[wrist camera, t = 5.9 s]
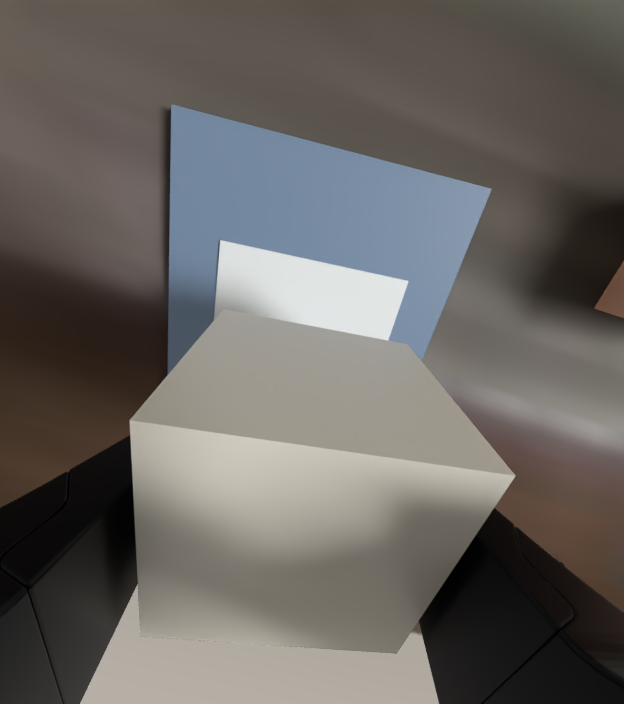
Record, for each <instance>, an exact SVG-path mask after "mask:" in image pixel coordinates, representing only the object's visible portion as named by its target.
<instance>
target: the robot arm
mask: <svg viewBox="0 0 624 704" xmlns="http://www.w3.org/2000/svg"><path fill="white" fill-rule="evenodd" d="M137 584H138V579H137V559H136V539H135V519H134V499H133V479H132V459H131V439H130V436H128V437H126V438H124V439H123V440H121V441H119V442H117V443H116V444H114V445H112V446H110V447H109V448H107V449H105V450H103V451H102V452H100V453H98V454H96V455H95V456H93V457H91V458H89V459H88V460H86V461H84V462H82V463H81V464H79V465H77V466H75V467H74V468H72V469H70V471H69V473H68V472H65V473H63V474H61V475H59V476H58V477H56V478H54V479H53V480H51V481H49V482H47V483H45V484H44V485H42V486H40V487H38V488H36V489H35V490H33V491H31V492H29V493H27V494H25V495H24V496H22V497H20V498H18V499H16V500H14V501H12V502H11V503H9V504H7V505H5V506H3V507H1V508H0V704H80V702H81V700H82V698H83V696H84V694H85V692H86V690H87V688H88V685H89V683H90V681H91V679H92V677H93V675H94V673H95V671H96V669H97V667H98V665H99V663H100V660H101V658H102V656H103V654H104V652H105V650H106V648H107V646H108V644H109V642H110V640H111V638H112V636H113V634H114V632H115V629H116V627H117V625H118V623H119V621H120V619H121V617H122V615H123V613H124V611H125V608H126V607H127V604H128V602H129V600H130V598H131V596H132V594H133V592H134V590H135V588H136V586H137ZM419 624H420V628H421V632H422V636H423V640H424V644H425V647H426V652H427V656H428V660H429V664H430V668H431V672H432V676H433V680H434V684H435V688H436V692H437V696H438V700H439V704H624V613H623V612H622V611H621V610H620V609H618V608H617V607H616V606H614V605H613V604H612V603H611V602H609V601H608V600H607V599H605V598H604V597H603V596H602V595H600V594H599V593H598V592H596V591H595V590H594V589H592V588H591V587H590V586H589V585H587V584H586V583H585V582H583V581H582V580H581V579H580V578H578V577H577V576H576V575H575V574H573V573H572V572H571V571H570V570H568V569H567V568H566V567H565V566H564V564H563V563H561V562H558V561H557V560H556V559H554V558H553V557H552V556H551V555H550V554H548V553H547V552H546V551H545V550H544V549H542V548H541V547H540V546H539V545H538V544H536V543H535V542H534V541H533V540H532V539H530V538H529V537H528V536H527V535H526V534H525V533H523V532H522V531H521V530H520V529H519V528H517V527H514V524H513V523H512V522H510V521H509V520H508V519H507V518H506V517H505V516H503V515H502V514H501V513H500V512H499V511H497V510H496V509H495V508H494V509H493V510H492V512H491V513H490V515H489V516H488V518H487V519H486V521H485V522H484V524H483V525H482V527H481V528H480V530H479V531H478V533H477V534H476V536H475V537H474V539H473V540H472V542H471V543H470V545H469V546H468V548H467V549H466V551H465V552H464V554H463V555H462V557H461V558H460V560H459V561H458V563H457V564H456V566H455V567H454V569H453V570H452V572H451V573H450V575H449V576H448V578H447V579H446V581H445V582H444V584H443V585H442V587H441V588H440V590H439V591H438V593H437V594H436V595H435V597H434V598H433V600H432V601H431V603H430V604H429V606H428V607H427V609H426V610H425V612H424V613H423V615H422V616H421V618H420V619H419Z"/></svg>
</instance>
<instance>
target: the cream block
mask: <svg viewBox="0 0 624 704" xmlns="http://www.w3.org/2000/svg"><path fill="white" fill-rule="evenodd" d="M130 439H131V459H132V479H133V499H134V519H135V539H136V559H137V579H138V599H139V618H140V636H141V637H152V638H167V639H182V640H198V641H213V642H228V643H243V644H259V645H274V646H289V647H304V648H320V649H334V650H351V651H365V652H366V651H367V652H380V653H395V654H396V653H397V652H398V651H399V649H400V648H401V646H402V645H403V643H404V642H405V640H406V638H407V637H408V636H409V634H410V633H411V631H412V630H413V628H414V627H415V625H416V624H417V622H418V621H419V619H420V618H421V616H422V615H423V613H424V612H425V610H426V609H427V607H428V606H429V604H430V603H431V601H432V600H433V598H434V597H435V595H436V594H437V593H438V591H439V590H440V588H441V587H442V585H443V584H444V582H445V581H446V579H447V578H448V576H449V575H450V573H451V572H452V570H453V569H454V567H455V566H456V564H457V563H458V561H459V560H460V558H461V557H462V555H463V554H464V552H465V551H466V549H467V548H468V546H469V545H470V543H471V542H472V540H473V539H474V537H475V536H476V534H477V533H478V531H479V530H480V528H481V527H482V525H483V524H484V522H485V521H486V519H487V518H488V516H489V515H490V513H491V512H492V510H493V509H494V507H495V506H496V504H497V503H498V501H499V500H500V498H501V497H502V495H503V494H504V492H505V491H506V489H507V488H508V486H509V485H510V483H511V482H512V480H513V479H514V477H515V475H514V473H513V472H512V471H511V470H510V469H509V467H508V466H507V465H506V464H505V462H504V461H503V460H502V459H501V458H500V456H499V455H498V454H497V453H496V452H495V450H494V449H493V448H492V447H491V445H490V444H489V443H488V442H487V441H486V439H485V438H484V437H483V436H482V434H481V433H480V432H479V431H478V430H477V428H476V427H475V426H474V425H473V423H472V422H471V421H470V420H469V419H468V417H467V416H466V415H465V414H464V412H463V411H462V410H461V409H460V408H459V406H458V405H457V404H456V403H455V401H454V400H453V399H452V398H451V397H450V395H449V394H448V393H447V392H446V391H445V389H444V388H443V387H442V386H441V384H440V383H439V382H438V381H437V380H436V378H435V377H434V376H433V375H432V373H431V372H430V371H429V370H428V369H427V367H426V366H425V365H424V364H423V362H422V361H421V360H420V359H419V358H418V356H417V355H416V354H415V353H414V351H413V350H412V349H411V348H410V347H409V345H408V344H404V343H399V342H393V341H388V340H383V339H378V338H372V337H367V336H362V335H357V334H351V333H346V332H341V331H336V330H330V329H325V328H320V327H315V326H310V325H304V324H299V323H294V322H289V321H283V320H278V319H273V318H268V317H262V316H257V315H252V314H247V313H242V312H236V311H231V310H226V309H223V310H222V312H221V313H220V314H219V315H218V316H217V318H216V319H215V320H214V321H213V322H212V323H211V325H210V326H209V327H208V328H207V329H206V331H205V332H204V333H203V334H202V335H201V336H200V338H199V339H198V340H197V341H196V342H195V344H194V345H193V346H192V347H191V348H190V349H189V351H188V352H187V353H186V354H185V355H184V357H183V358H182V359H181V360H180V361H179V362H178V364H177V365H176V366H175V367H174V368H173V370H172V371H171V372H170V373H169V374H168V375H167V377H166V378H165V379H164V380H163V381H162V383H161V384H160V385H159V386H158V387H157V388H156V390H155V391H154V392H153V393H152V394H151V396H150V397H149V398H148V399H147V400H146V401H145V403H144V404H143V405H142V406H141V407H140V409H139V410H138V411H137V412H136V413H135V414H134V416H133V417H132V418H131V419H130Z"/></svg>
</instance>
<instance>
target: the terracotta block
mask: <svg viewBox="0 0 624 704" xmlns="http://www.w3.org/2000/svg"><path fill="white" fill-rule="evenodd" d="M594 309H597V310H600V311H603V312H606V313H609V314H612V315H615V316H618V317H621V318H624V261H623V262H622V264H621V266H620V267H619V269H618V270H617V272H616V274H615V275H614V277H613V278H612V280H611V282H610V283H609V285H608V287H607V288H606V290H605V291H604V293H603V295H602V296H601V298H600V299H599V301H598V303H597V304H596V306H595V307H594Z"/></svg>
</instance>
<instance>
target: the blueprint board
mask: <svg viewBox="0 0 624 704" xmlns="http://www.w3.org/2000/svg"><path fill="white" fill-rule="evenodd" d="M490 192H491V189H490V188H486V187H482V186H478V185H475V184H471V183H467V182H463V181H459V180H456V179H452V178H448V177H444V176H440V175H437V174H433V173H429V172H425V171H422V170H418V169H414V168H410V167H406V166H403V165H399V164H395V163H391V162H388V161H384V160H380V159H376V158H372V157H369V156H365V155H361V154H357V153H353V152H350V151H346V150H342V149H338V148H335V147H331V146H327V145H323V144H319V143H316V142H312V141H308V140H304V139H300V138H297V137H293V136H289V135H285V134H282V133H278V132H274V131H270V130H266V129H263V128H259V127H255V126H251V125H248V124H244V123H240V122H236V121H232V120H229V119H225V118H221V117H217V116H213V115H210V114H206V113H202V112H198V111H195V110H191V109H187V108H183V107H179V106H176V105H172V104H171V161H170V233H169V306H168V374H169V373H170V372H171V371H172V370H173V368H174V367H175V366H176V365H177V364H178V362H179V361H180V360H181V359H182V358H183V357H184V355H185V354H186V353H187V352H188V351H189V349H190V348H191V347H192V346H193V345H194V344H195V342H196V341H197V340H198V339H199V338H200V336H201V335H202V334H203V333H204V332H205V331H206V329H207V328H208V327H209V326H210V325H211V323H212V322H213V321H214V320H215V319H216V318H217V316H218V315H219V314H220V313H221V312H222V310H223V309H226V310H231V311H236V312H242V313H247V314H252V315H257V316H262V317H268V318H273V319H278V320H283V321H289V322H294V323H299V324H304V325H310V326H315V327H320V328H325V329H330V330H336V331H341V332H346V333H351V334H357V335H362V336H367V337H372V338H378V339H383V340H388V341H393V342H399V343H404V344H408V345H409V347H410V348H411V349H412V350H413V351H414V353H415V354H416V355H417V356H418V358H419V359H420V360H421V361H422V359H423V356H424V354H425V351H426V349H427V347H428V344H429V342H430V339H431V337H432V334H433V332H434V329H435V327H436V324H437V322H438V320H439V317H440V315H441V312H442V310H443V307H444V305H445V302H446V300H447V297H448V295H449V293H450V290H451V288H452V285H453V283H454V280H455V278H456V275H457V273H458V270H459V268H460V266H461V263H462V261H463V258H464V256H465V253H466V251H467V248H468V246H469V243H470V241H471V239H472V236H473V234H474V231H475V229H476V226H477V224H478V221H479V219H480V216H481V214H482V211H483V209H484V207H485V204H486V202H487V199H488V197H489V194H490Z"/></svg>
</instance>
